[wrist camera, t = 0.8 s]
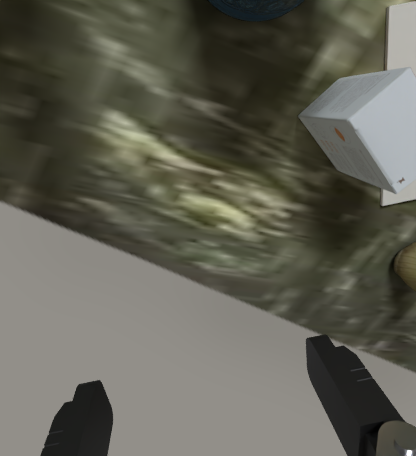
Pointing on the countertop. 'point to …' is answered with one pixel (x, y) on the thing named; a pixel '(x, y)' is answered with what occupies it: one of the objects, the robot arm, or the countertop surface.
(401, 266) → the fennel bulb
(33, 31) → the countertop surface
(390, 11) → the mat
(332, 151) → the small box
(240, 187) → the countertop surface
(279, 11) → the canister
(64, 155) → the countertop surface
